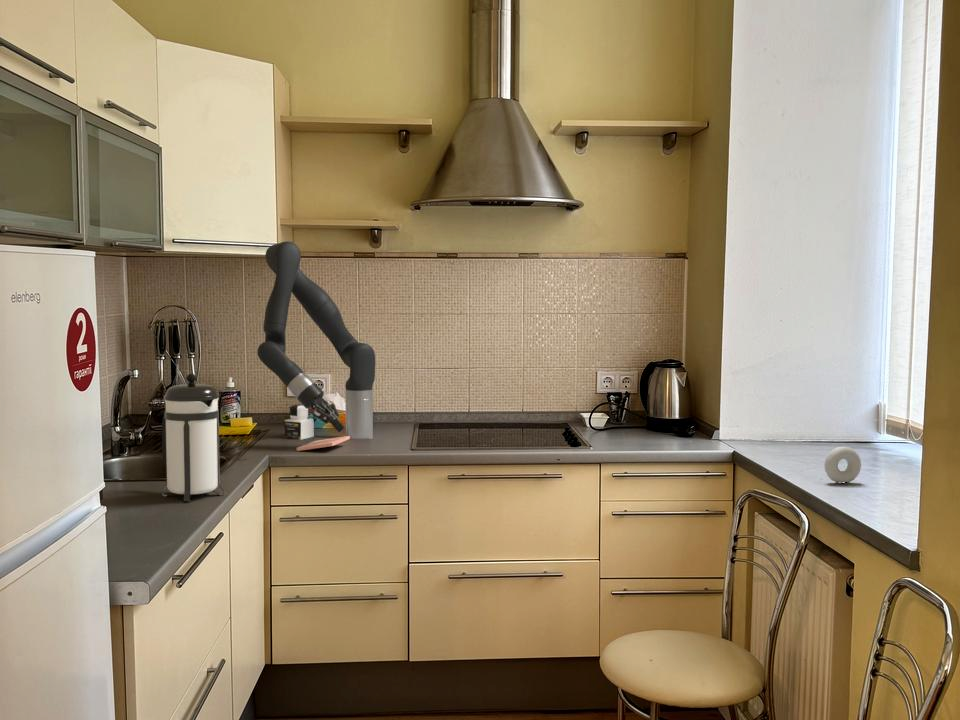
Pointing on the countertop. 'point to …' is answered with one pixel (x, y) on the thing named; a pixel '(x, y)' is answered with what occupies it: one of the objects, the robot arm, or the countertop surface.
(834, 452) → the donut
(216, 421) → the coffee press
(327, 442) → the book
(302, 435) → the medicine bottle
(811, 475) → the countertop surface
